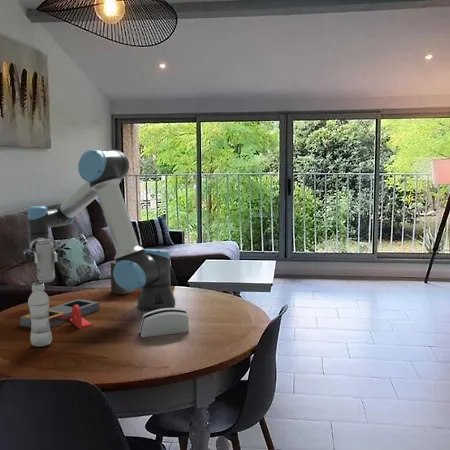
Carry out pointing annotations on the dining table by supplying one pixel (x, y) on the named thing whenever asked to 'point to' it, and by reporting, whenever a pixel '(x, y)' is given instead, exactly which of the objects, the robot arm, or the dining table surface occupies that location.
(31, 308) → the plastic bottle
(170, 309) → the white plastic holder
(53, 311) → the grey compartment tray
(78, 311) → the bracket
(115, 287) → the pillar candle
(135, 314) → the dining table surface
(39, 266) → the energy drink can
